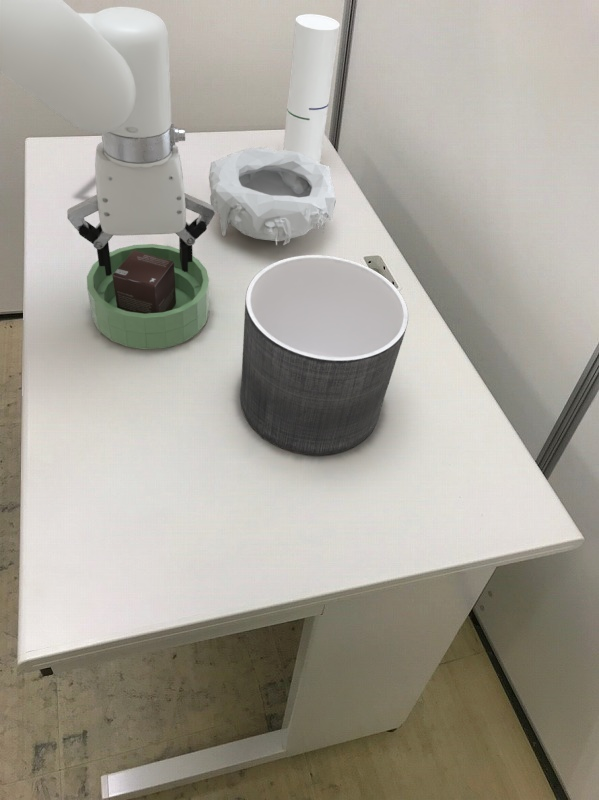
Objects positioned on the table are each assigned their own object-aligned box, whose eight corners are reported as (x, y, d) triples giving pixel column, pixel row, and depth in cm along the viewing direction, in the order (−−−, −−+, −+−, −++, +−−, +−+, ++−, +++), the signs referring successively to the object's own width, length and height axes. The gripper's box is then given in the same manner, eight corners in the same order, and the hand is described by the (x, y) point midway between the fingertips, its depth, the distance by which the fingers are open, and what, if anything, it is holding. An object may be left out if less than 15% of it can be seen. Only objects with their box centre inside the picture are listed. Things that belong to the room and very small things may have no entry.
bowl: (238, 182, 115) (240, 127, 108) (345, 213, 112) (355, 159, 104) (185, 240, 101) (183, 181, 94) (305, 278, 98) (314, 221, 91)
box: (177, 304, 90) (175, 261, 84) (158, 330, 86) (155, 286, 80) (137, 292, 90) (133, 249, 85) (116, 318, 86) (111, 274, 81)
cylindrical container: (323, 176, 120) (345, 30, 101) (286, 178, 118) (302, 29, 100) (313, 157, 124) (332, 14, 106) (277, 158, 122) (290, 13, 104)
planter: (230, 446, 75) (234, 348, 63) (249, 344, 87) (255, 245, 75) (380, 465, 75) (412, 371, 64) (378, 360, 87) (405, 265, 76)
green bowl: (94, 357, 82) (88, 321, 78) (91, 282, 92) (85, 246, 88) (216, 347, 86) (216, 312, 81) (200, 275, 96) (199, 241, 91)
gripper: (210, 123, 75) (209, 247, 87) (54, 123, 71) (76, 253, 83) (220, 155, 70) (217, 281, 83) (53, 156, 66) (77, 289, 78)
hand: (146, 267), depth 83 cm, fingers open, 9 cm apart
